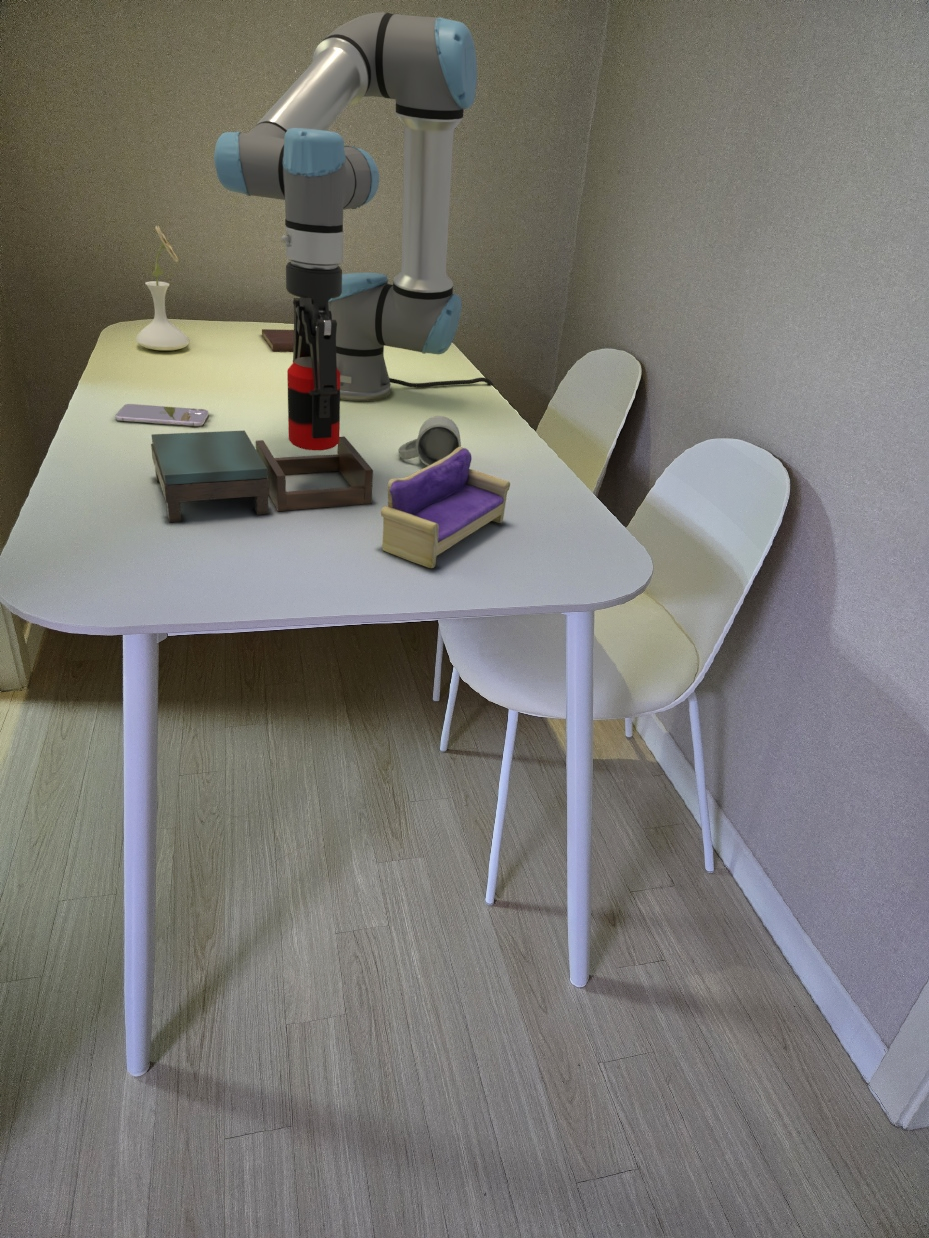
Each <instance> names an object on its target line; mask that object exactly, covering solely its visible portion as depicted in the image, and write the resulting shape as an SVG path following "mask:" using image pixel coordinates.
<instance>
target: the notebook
mask: <svg viewBox="0 0 929 1238" xmlns="http://www.w3.org/2000/svg"><path fill="white" fill-rule="evenodd" d="M261 336H262V338H263V339H264V341H265V343H266V344H267V345H268V346H269V348H270V349H271V350H272V352H293V343H294V329H276V328H275V329H273V328H271V329H270V328H267V329H266V328H262V329H261Z"/></svg>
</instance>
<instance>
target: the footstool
mask: <svg viewBox="0 0 929 1238" xmlns="http://www.w3.org/2000/svg"><path fill="white" fill-rule="evenodd" d="M150 449H151V450H150V451H151V457H152V463H153V466H154V471H155V480H156V483H159V485H160V488H161V491H162V493H163V497H164V500H165V503H166V511H167V519H168V521H169V523H177V522H178V523H179V522H183V520H182V509H181V503H185V502H197V501H211V500H212V501H213V500H223V499H236V498H237V499H238V498H250V497H251V498H252V497H254V511H255V513H256V515H258V516H260V515H269V495H270V492H269V478H268V476H267V468H266V466H265V464H264V463H263V461H262V459H261V458H260V456H259V454H258V453H257V451H256V446H254V444H253V443H252V440H251V439H250V438H249V435H248V434H247V432H246V431H245V430H224V431H223V430H222V431H199V432H197V431H196V432H178V433H177V432H176V433H173V432H172V433H155V434H154V433H152V434H151V443H150Z"/></svg>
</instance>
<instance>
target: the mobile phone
mask: <svg viewBox="0 0 929 1238" xmlns="http://www.w3.org/2000/svg"><path fill="white" fill-rule="evenodd" d="M209 413H210V412H209V410H208V409H204V408H194V407H193V408H190V407H180V406H179V407H178V406H164V405H152V404H151V405H150V404H138V403H137V404H136V403H126V404H124V405H123V406H122V407H121V408H120V409H119V411H118V412H117V413H116V414H115V419H116V421H119V422H130V423H131V422H132V423H147V424H161V425H174V426H187V427H189V426H191V427H202V426H203V425H204V424H205V422H206V420H207V418H208V416H209Z"/></svg>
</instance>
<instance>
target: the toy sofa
mask: <svg viewBox="0 0 929 1238" xmlns="http://www.w3.org/2000/svg"><path fill="white" fill-rule="evenodd" d="M472 459H473V458H472V453H471V452H470V450H469V449H468V448H466V447H462V446H461V447H458V448H457V449H455V450H454V451H453V452H452V453H451V454H449V455H448V456H446V457H445V458H443V459H441V460H439V461H437V462H435V463H433V464H432V465H430V466H426V467H424V468H422V469H420V470H417V471H416V472H414V473H412V474H410V475H408V476H405V477H401V478H400V477H399V478H398V477H394V478H391V479H389V480H388V482H387V487H386V488H387V489H386V491H387V505H384V506H383V507H382V508H381V510H380V515H381V517H382V518H383V520H382V521H383V522H382V526H383V527H382V545H381V547H382V551H384V552H386V553H388V554H391V555H393V556H395V557H396V556H397V557H399V558H402V559H403V560H407V561H409V562H412V563H414V564H417V565H420V566H423V567H426V568H428V569H434V568H435V567H436V565H437V564H436V563H437V557H438V556H439V555H440V554H442V553H444V552H445V551H446V550H448V549H450V548H451V547H453V546H454V545H456V544H457V543H459V542H460V541H462V540H463V539H465V538H467V537H468V536H469V535H471V534H473V533H475V532H476V531H478V530H479V529H481V528H482V527H484V526H485V525H487V524H488V523H490V522H495V523H498V524H502V523H503V522H504V517H505V509H506V503H507V496H508V493H509V492H508V491H509V490H510V488H511V482H510V481H508V480H505V479H502V478H500V477H496V476H493V475H490V474H487V473H485V472H481V471H478V470H475V469H472V468H471V464H472Z"/></svg>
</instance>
